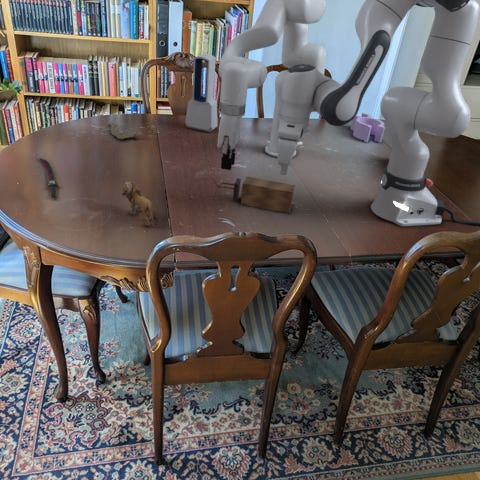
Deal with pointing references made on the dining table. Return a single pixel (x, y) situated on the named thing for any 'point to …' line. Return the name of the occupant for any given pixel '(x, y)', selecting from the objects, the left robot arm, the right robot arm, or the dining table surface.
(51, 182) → the sword
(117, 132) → the jawbone
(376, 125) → the clip
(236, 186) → the wooden handle frame
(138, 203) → the lion figurine
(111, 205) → the dining table surface
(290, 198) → the cabinet
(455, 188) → the dining table surface
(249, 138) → the dining table surface
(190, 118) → the electronic device
